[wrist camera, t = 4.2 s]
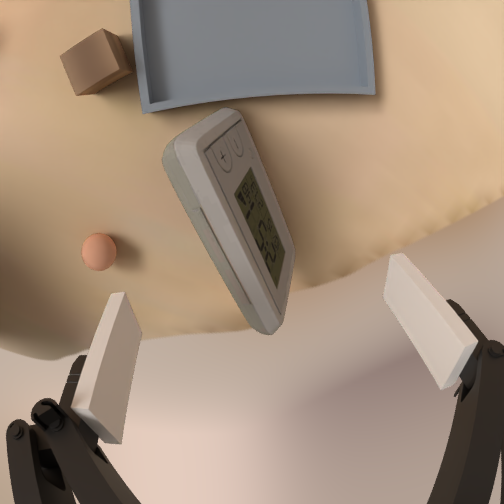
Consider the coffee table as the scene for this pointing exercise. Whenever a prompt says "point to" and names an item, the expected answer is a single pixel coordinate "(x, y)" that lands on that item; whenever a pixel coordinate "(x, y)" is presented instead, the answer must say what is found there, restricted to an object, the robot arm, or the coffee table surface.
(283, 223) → the digital clock
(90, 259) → the terracotta ball
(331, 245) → the coffee table surface
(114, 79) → the walnut cube
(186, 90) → the tray
